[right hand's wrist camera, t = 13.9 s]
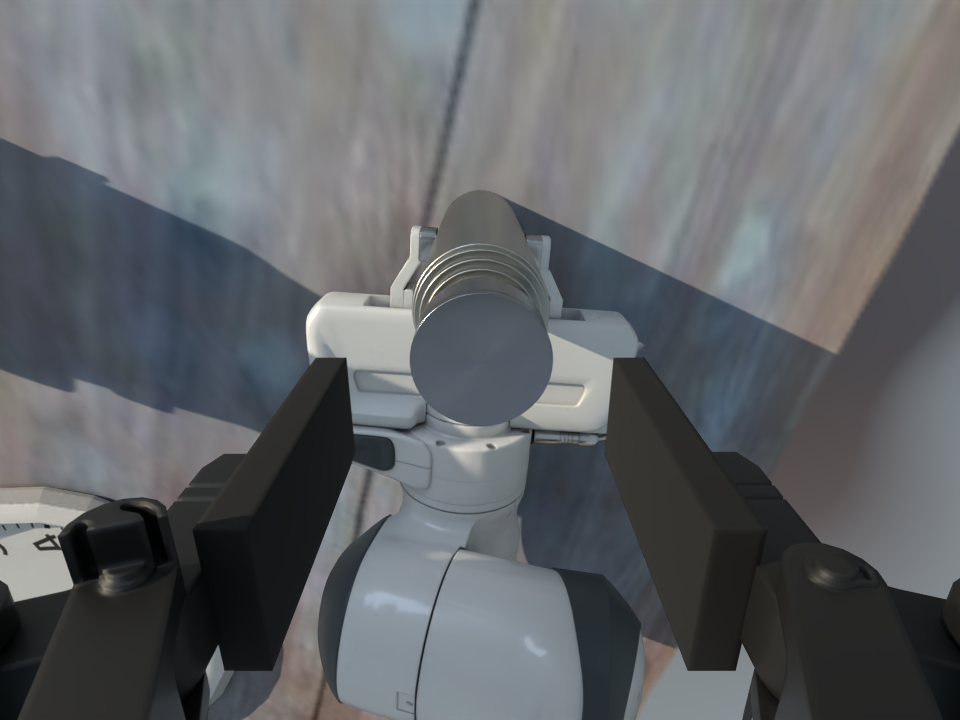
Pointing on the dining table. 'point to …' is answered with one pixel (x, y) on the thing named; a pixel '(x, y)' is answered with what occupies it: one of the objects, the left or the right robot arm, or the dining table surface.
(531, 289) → the bottle
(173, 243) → the dining table surface
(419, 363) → the cap
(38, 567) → the wall clock
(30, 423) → the dining table surface
